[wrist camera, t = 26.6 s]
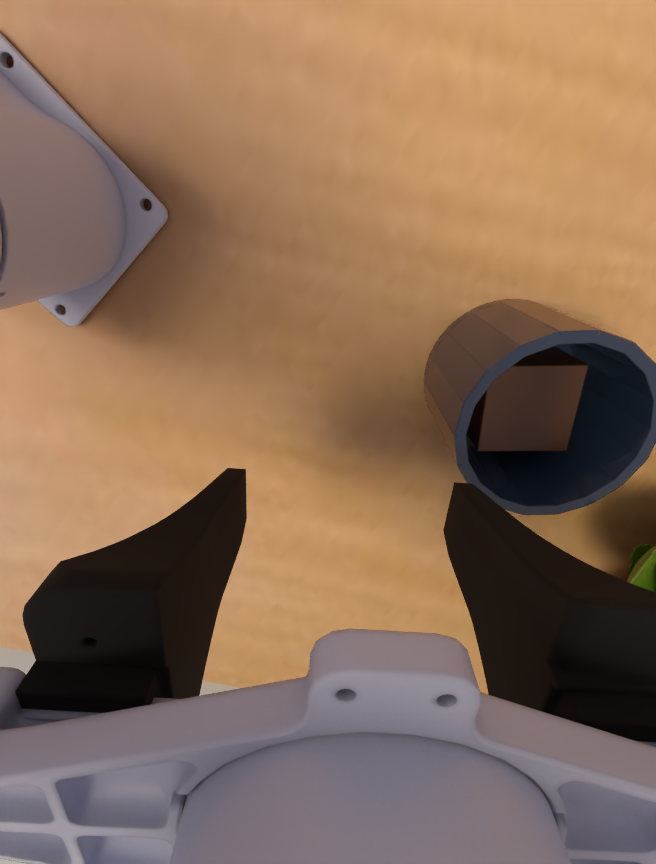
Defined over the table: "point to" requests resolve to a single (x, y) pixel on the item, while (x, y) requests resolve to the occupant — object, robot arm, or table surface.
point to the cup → (594, 422)
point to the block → (530, 404)
